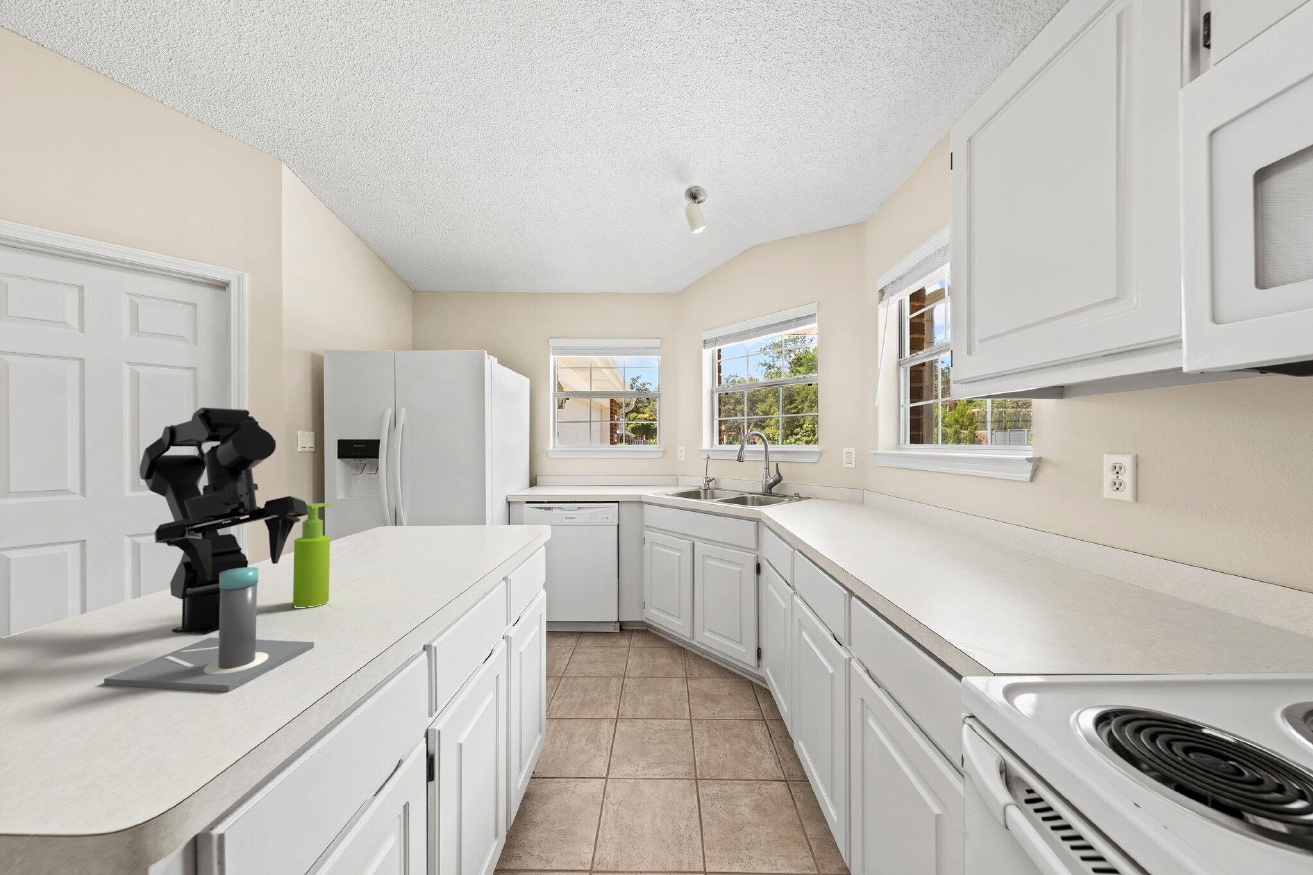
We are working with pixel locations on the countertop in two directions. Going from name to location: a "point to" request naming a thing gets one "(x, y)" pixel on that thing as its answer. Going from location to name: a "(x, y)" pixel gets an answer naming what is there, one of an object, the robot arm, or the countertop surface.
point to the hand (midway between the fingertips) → (242, 571)
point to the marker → (237, 617)
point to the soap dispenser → (311, 561)
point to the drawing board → (207, 667)
